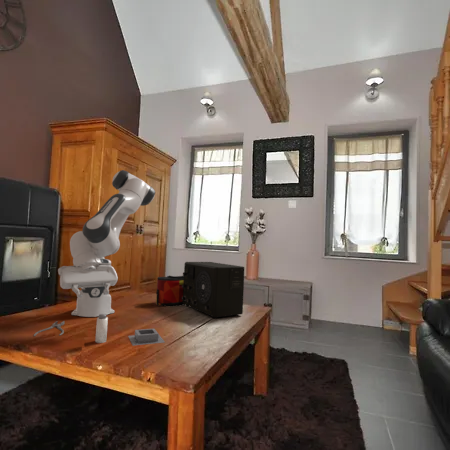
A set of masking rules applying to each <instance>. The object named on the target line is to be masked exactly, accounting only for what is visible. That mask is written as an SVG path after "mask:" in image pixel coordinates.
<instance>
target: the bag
mask: <svg viewBox="0 0 450 450" xmlns="http://www.w3.org/2000/svg"><path fill="white" fill-rule="evenodd" d="M156 284H157V285H156V293H155V294H156V298H155V305H156V304H157V305H156V306H158V305H160V306H159V307H166V306H170V307H179V305H181V306H186V305H185V304H183V300H182V299H181V298H182V297H183V288H182V285H183V284H184V276H183V275H179V276H178V275H176V276H175V275H174V276H173V275H167V276H157V282H156Z"/></svg>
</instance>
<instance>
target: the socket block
mask: <svg viewBox="0 0 450 450" xmlns="http://www.w3.org/2000/svg"><path fill="white" fill-rule="evenodd" d="M128 338H129V341H130V343H131V345H132V346H143V345H153V344H154V345H155V344H164V343H166V341H165V340H164V339H163V338H162V337H161V335H160V334H159V332H158V331H157V330H156V329H155V328H143V329H141V328H140V329H135V330H134V334H132V335H128Z"/></svg>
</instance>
